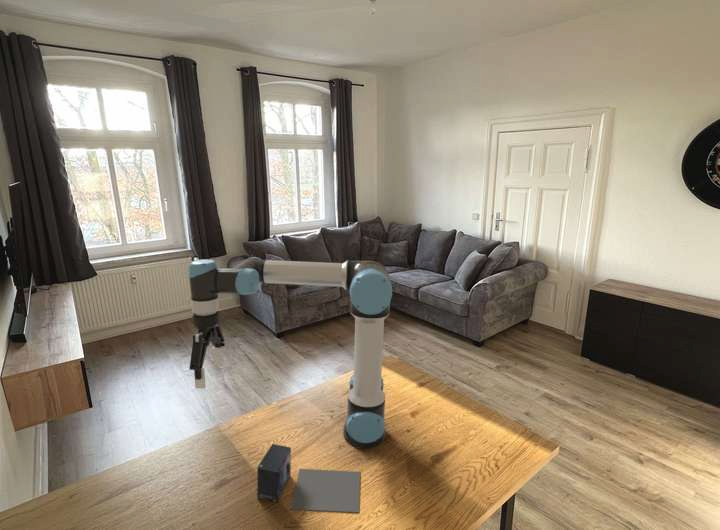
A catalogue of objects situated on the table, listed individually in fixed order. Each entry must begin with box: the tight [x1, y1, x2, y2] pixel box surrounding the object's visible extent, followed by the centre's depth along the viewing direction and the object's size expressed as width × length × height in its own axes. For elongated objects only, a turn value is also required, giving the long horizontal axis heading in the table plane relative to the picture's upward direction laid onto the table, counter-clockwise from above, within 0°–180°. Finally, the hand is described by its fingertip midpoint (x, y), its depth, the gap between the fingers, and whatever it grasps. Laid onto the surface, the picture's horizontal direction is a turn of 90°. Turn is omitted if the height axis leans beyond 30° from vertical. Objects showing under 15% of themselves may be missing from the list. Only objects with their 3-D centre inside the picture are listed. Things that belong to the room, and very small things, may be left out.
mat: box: [289, 468, 361, 514], centre depth 114 cm, size 19×15×1 cm
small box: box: [256, 443, 292, 503], centre depth 114 cm, size 11×6×10 cm, turn 168°
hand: (209, 376), depth 121 cm, fingers open, 13 cm apart
